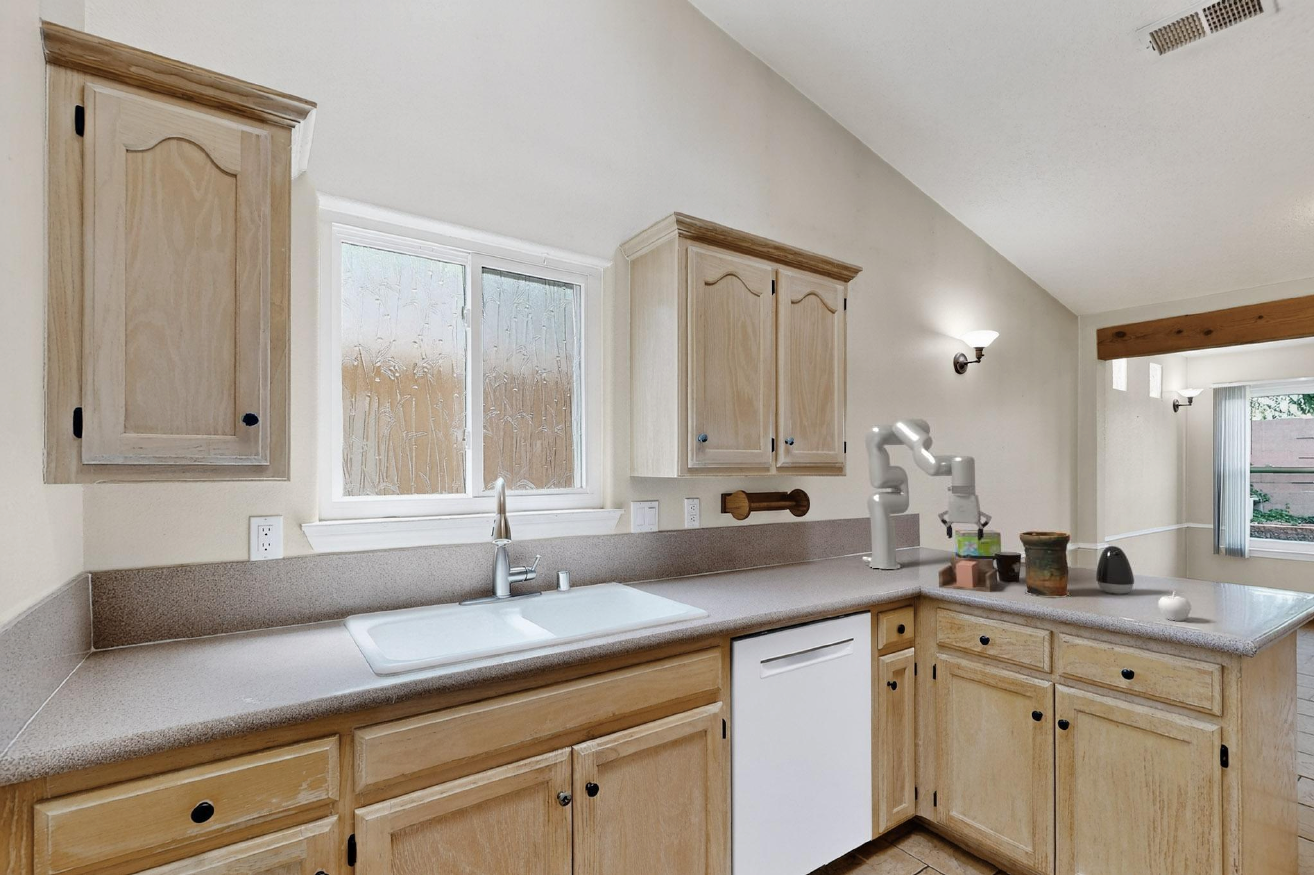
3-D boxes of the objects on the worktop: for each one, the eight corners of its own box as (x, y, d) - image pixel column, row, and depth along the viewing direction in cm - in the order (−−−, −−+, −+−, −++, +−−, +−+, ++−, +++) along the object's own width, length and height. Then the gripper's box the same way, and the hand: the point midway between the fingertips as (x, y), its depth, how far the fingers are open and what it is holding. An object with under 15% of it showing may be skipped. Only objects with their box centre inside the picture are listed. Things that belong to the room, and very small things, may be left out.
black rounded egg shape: (1102, 595, 205) (1099, 547, 205) (1092, 588, 214) (1090, 543, 215) (1140, 596, 201) (1137, 548, 202) (1128, 590, 211) (1126, 544, 211)
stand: (939, 587, 223) (938, 562, 224) (949, 580, 235) (948, 557, 235) (989, 591, 214) (988, 566, 214) (997, 584, 225) (996, 560, 226)
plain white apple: (1164, 621, 171) (1163, 592, 171) (1154, 615, 178) (1153, 587, 178) (1196, 623, 168) (1195, 593, 169) (1185, 617, 175) (1183, 588, 175)
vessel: (1085, 596, 202) (1080, 534, 203) (1043, 599, 201) (1038, 536, 202) (1054, 588, 217) (1049, 529, 217) (1014, 591, 216) (1010, 532, 216)
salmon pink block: (956, 586, 222) (956, 564, 222) (963, 581, 229) (962, 560, 230) (972, 587, 218) (971, 565, 219) (978, 582, 226) (977, 561, 227)
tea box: (963, 568, 259) (961, 532, 260) (955, 564, 269) (954, 529, 270) (1002, 568, 257) (1000, 531, 258) (993, 564, 267) (992, 529, 267)
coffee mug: (1016, 578, 235) (1014, 551, 236) (1027, 582, 227) (1025, 554, 227) (983, 578, 236) (982, 551, 237) (993, 583, 228) (991, 555, 228)
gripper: (935, 490, 228) (936, 538, 227) (988, 492, 217) (990, 542, 217) (940, 489, 234) (941, 536, 233) (992, 490, 223) (994, 539, 223)
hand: (964, 538), depth 225 cm, fingers open, 9 cm apart
